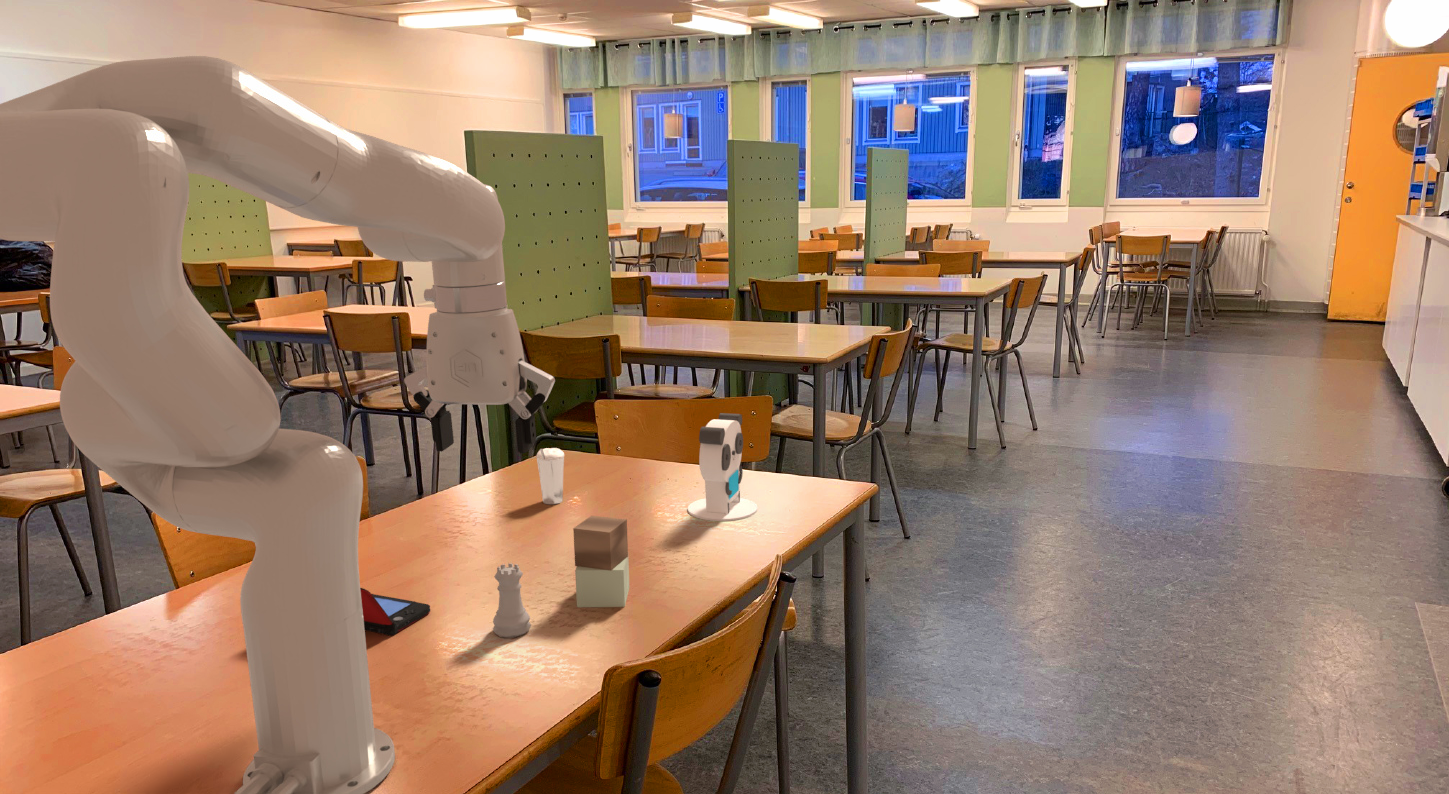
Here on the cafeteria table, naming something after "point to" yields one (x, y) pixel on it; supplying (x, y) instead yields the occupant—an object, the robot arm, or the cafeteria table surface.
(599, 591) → the base block
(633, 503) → the cafeteria table surface
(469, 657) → the cafeteria table surface
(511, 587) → the rook chess piece
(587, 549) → the top block
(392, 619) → the handheld game console
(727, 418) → the panda figurine
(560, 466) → the milkshake
